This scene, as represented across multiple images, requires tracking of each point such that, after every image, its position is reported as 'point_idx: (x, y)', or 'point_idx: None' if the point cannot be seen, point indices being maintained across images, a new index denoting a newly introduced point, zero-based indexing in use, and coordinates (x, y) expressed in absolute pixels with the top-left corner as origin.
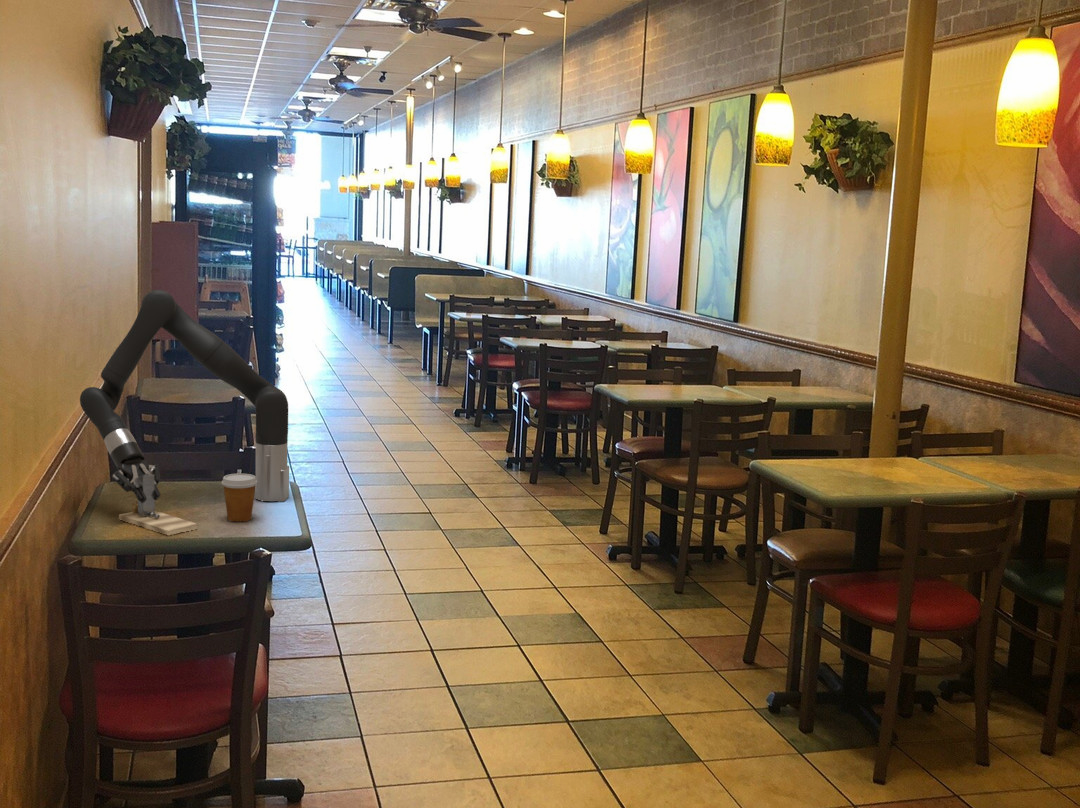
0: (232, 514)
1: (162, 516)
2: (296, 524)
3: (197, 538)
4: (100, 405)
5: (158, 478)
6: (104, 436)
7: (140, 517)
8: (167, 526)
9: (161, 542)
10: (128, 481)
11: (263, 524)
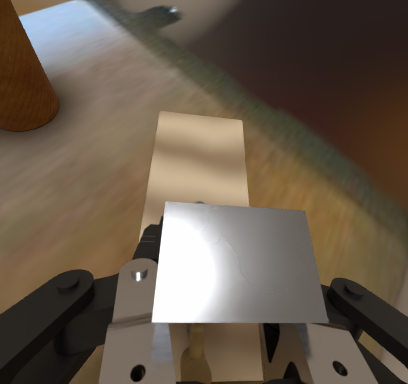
0: (50, 87)
1: None
2: None
3: (205, 88)
4: None
5: (52, 296)
6: None
7: None
8: (223, 144)
9: (269, 115)
10: (391, 326)
11: (45, 57)
